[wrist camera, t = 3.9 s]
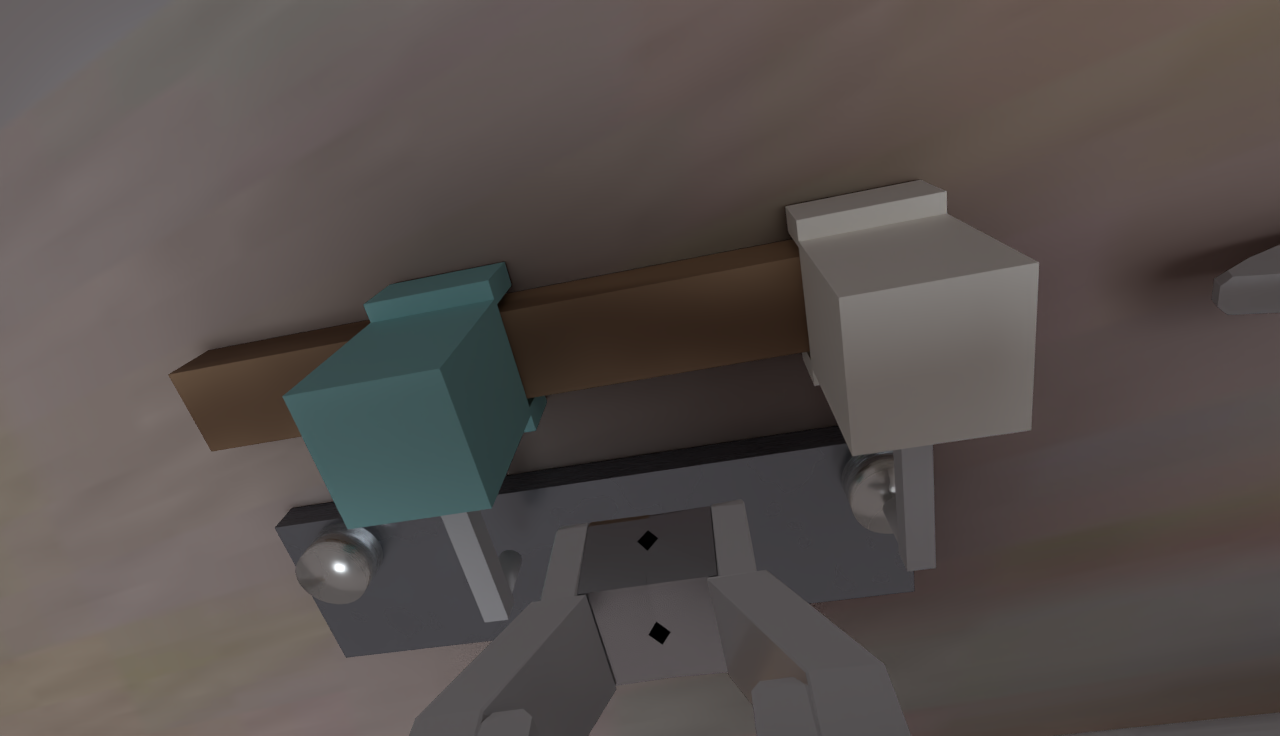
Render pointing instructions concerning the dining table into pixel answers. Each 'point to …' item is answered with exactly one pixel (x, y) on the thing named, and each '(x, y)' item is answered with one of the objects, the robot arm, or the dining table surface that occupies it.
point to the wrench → (1250, 285)
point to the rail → (545, 338)
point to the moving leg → (425, 418)
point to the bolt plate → (628, 487)
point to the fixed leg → (914, 335)
